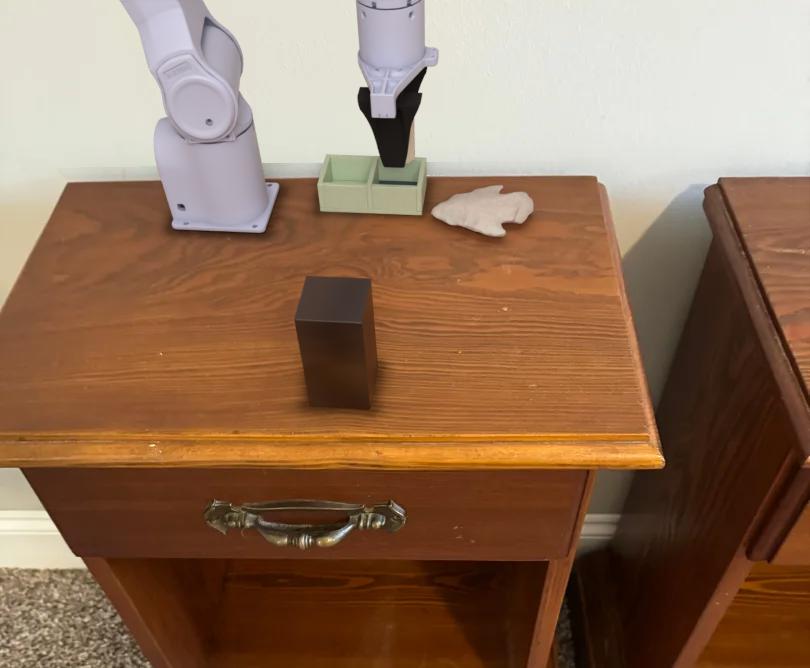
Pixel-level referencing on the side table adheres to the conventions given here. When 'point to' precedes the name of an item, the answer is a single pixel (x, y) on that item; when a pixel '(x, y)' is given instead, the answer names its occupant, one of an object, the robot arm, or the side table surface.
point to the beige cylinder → (411, 145)
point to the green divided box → (371, 185)
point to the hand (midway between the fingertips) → (396, 154)
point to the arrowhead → (485, 210)
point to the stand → (337, 341)
